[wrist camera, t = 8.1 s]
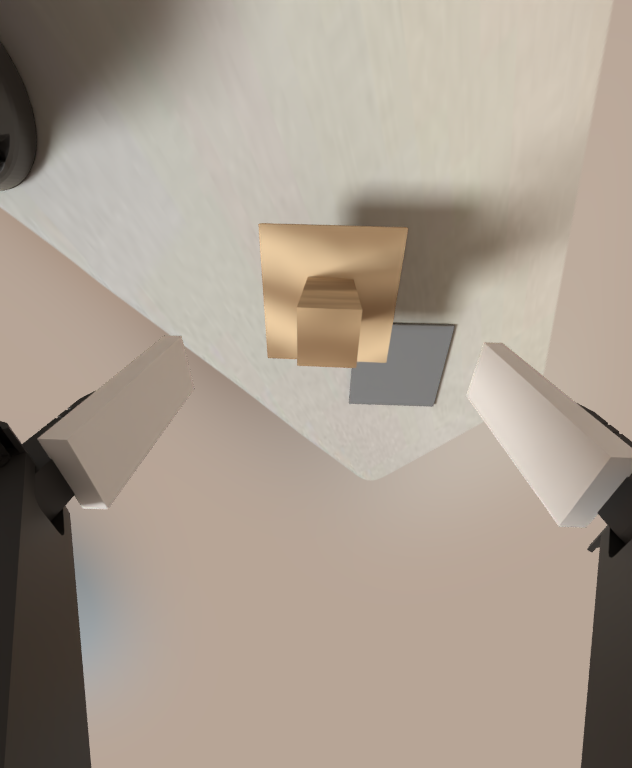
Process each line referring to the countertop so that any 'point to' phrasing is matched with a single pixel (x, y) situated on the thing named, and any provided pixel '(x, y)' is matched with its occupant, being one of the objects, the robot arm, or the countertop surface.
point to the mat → (404, 368)
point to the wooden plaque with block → (330, 291)
